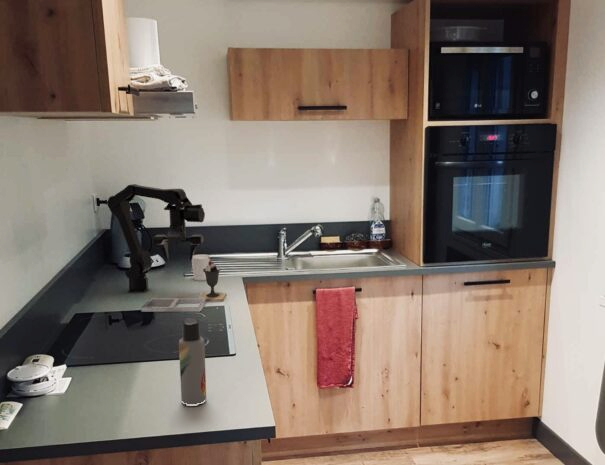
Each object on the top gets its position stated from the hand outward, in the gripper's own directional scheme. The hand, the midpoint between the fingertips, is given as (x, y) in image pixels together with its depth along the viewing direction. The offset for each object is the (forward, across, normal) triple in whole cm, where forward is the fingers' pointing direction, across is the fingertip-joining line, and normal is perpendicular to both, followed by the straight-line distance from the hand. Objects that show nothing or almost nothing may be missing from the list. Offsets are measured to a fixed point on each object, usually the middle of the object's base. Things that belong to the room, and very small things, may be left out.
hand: (179, 260), depth 214 cm
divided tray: (+13, +2, -18) cm, 22 cm away
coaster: (+13, +14, -7) cm, 20 cm away
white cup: (+13, +4, +22) cm, 26 cm away
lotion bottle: (+13, +24, -90) cm, 94 cm away
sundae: (+12, +14, -7) cm, 20 cm away
